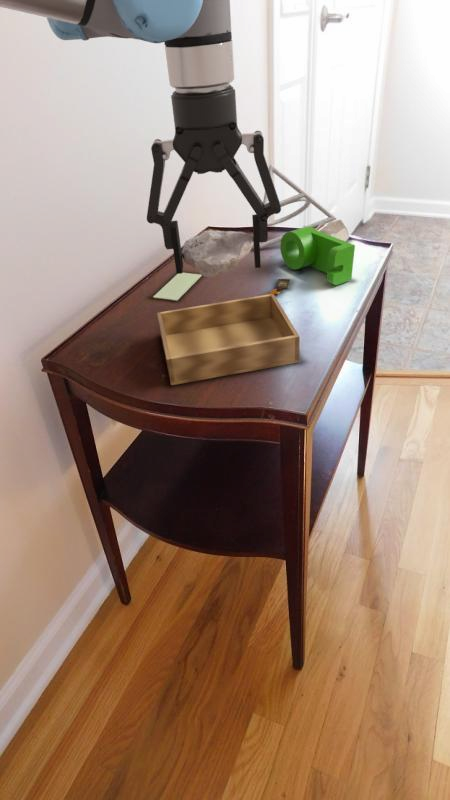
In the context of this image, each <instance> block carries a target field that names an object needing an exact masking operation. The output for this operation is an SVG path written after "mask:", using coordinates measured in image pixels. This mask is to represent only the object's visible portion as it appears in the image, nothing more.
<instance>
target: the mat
mask: <svg viewBox="0 0 450 800" xmlns="http://www.w3.org/2000/svg"><path fill="white" fill-rule="evenodd" d="M201 277H203V275H201V274H200V273H190V272H182V274H177V273H176V275H174V277H172V279H171V280H170V281H168V282H167V283H166V284H165V285H163V287H162V288H161V289H160V290H159V291H157V292H156V293H155V294H154V295H153V296H152V299H159V300H167V301H175V302H178V301H179V300H180V298H181V297H183V296H184V294H186V293H187V291H189V289H190V288H191V287H192V286H193V285H195V283H196V282H197V281H198V280H199V279H201Z"/></svg>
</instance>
